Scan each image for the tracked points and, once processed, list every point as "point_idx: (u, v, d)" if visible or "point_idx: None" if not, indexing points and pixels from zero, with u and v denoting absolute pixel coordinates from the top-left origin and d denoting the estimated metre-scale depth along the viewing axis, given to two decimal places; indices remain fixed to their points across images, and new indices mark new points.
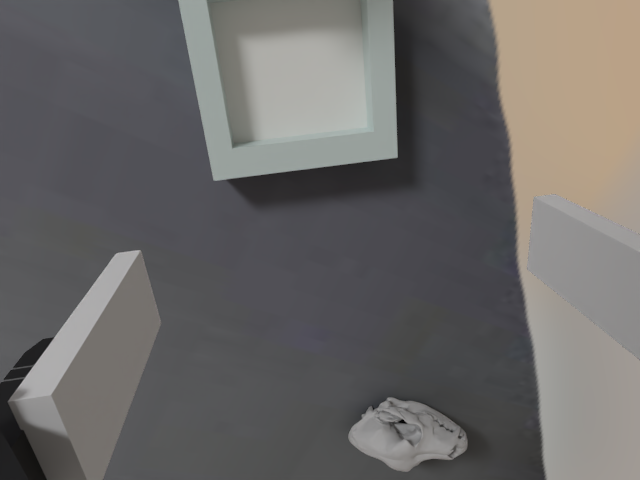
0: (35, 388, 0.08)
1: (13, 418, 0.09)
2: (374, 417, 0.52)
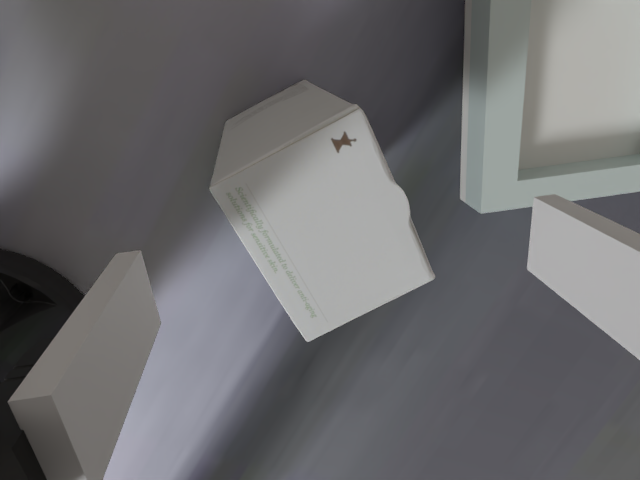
0: (35, 388, 0.08)
1: (13, 418, 0.09)
2: None
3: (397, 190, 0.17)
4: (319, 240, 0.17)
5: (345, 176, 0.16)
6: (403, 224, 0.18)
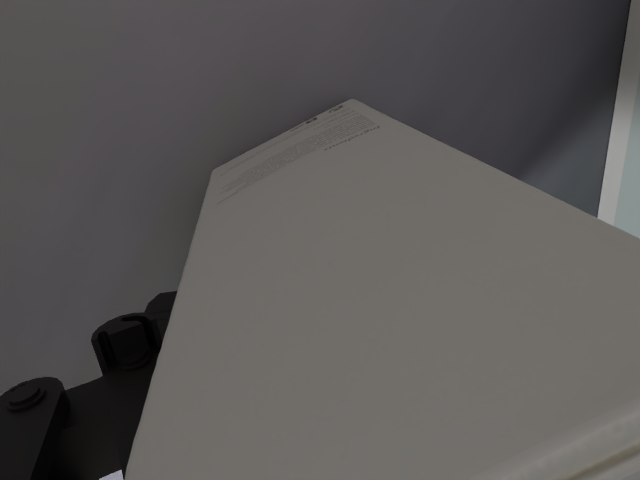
0: None
1: None
2: None
3: None
4: None
5: None
6: None
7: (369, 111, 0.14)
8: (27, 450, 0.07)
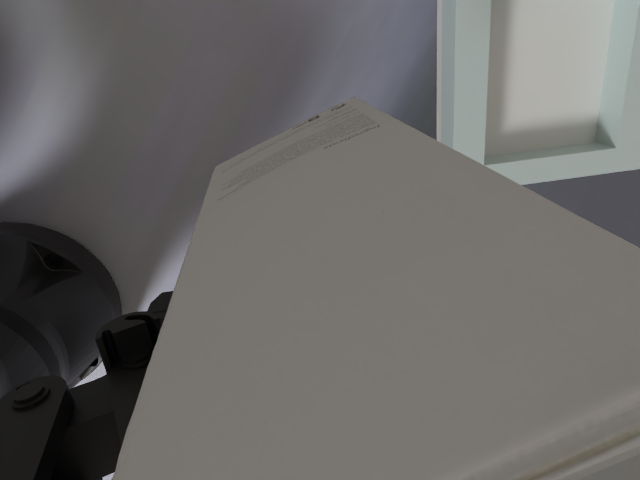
0: None
1: None
2: None
3: None
4: None
5: None
6: None
7: (370, 110, 0.14)
8: (31, 448, 0.07)
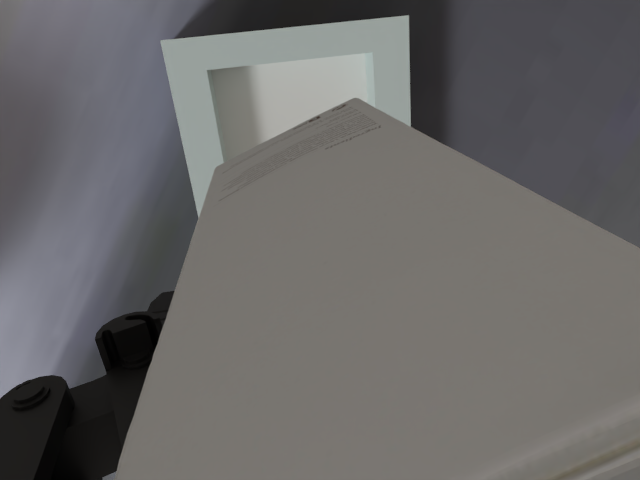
0: None
1: None
2: None
3: None
4: None
5: None
6: None
7: (371, 110, 0.14)
8: (31, 448, 0.07)
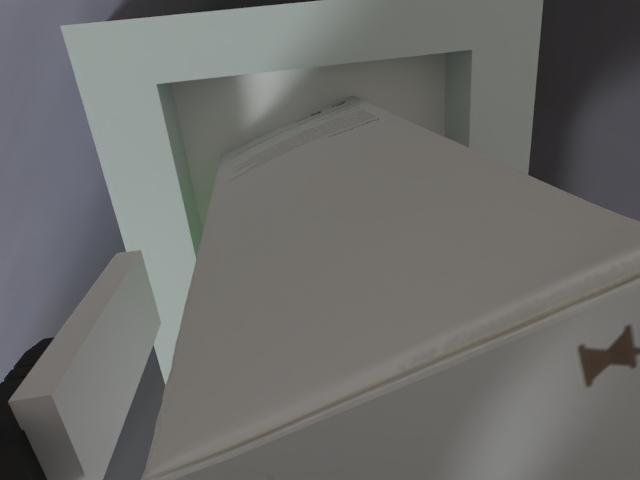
0: (35, 388, 0.08)
1: (13, 418, 0.09)
2: None
3: None
4: None
5: (588, 447, 0.05)
6: None
7: (369, 106, 0.15)
8: None
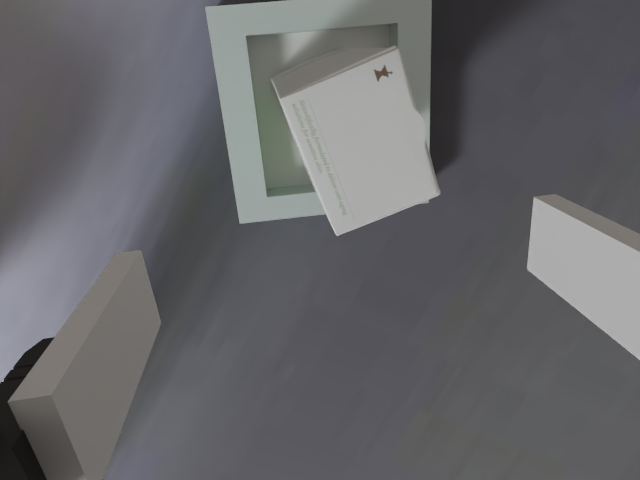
0: (35, 388, 0.08)
1: (13, 418, 0.09)
2: None
3: (418, 117, 0.22)
4: (356, 150, 0.23)
5: (381, 101, 0.22)
6: (420, 145, 0.23)
7: (346, 48, 0.32)
8: None
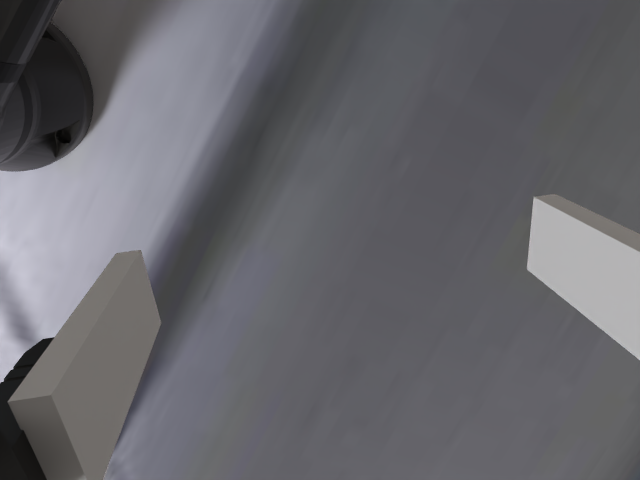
0: (35, 388, 0.08)
1: (13, 418, 0.09)
2: None
3: None
4: None
5: None
6: None
7: None
8: None
